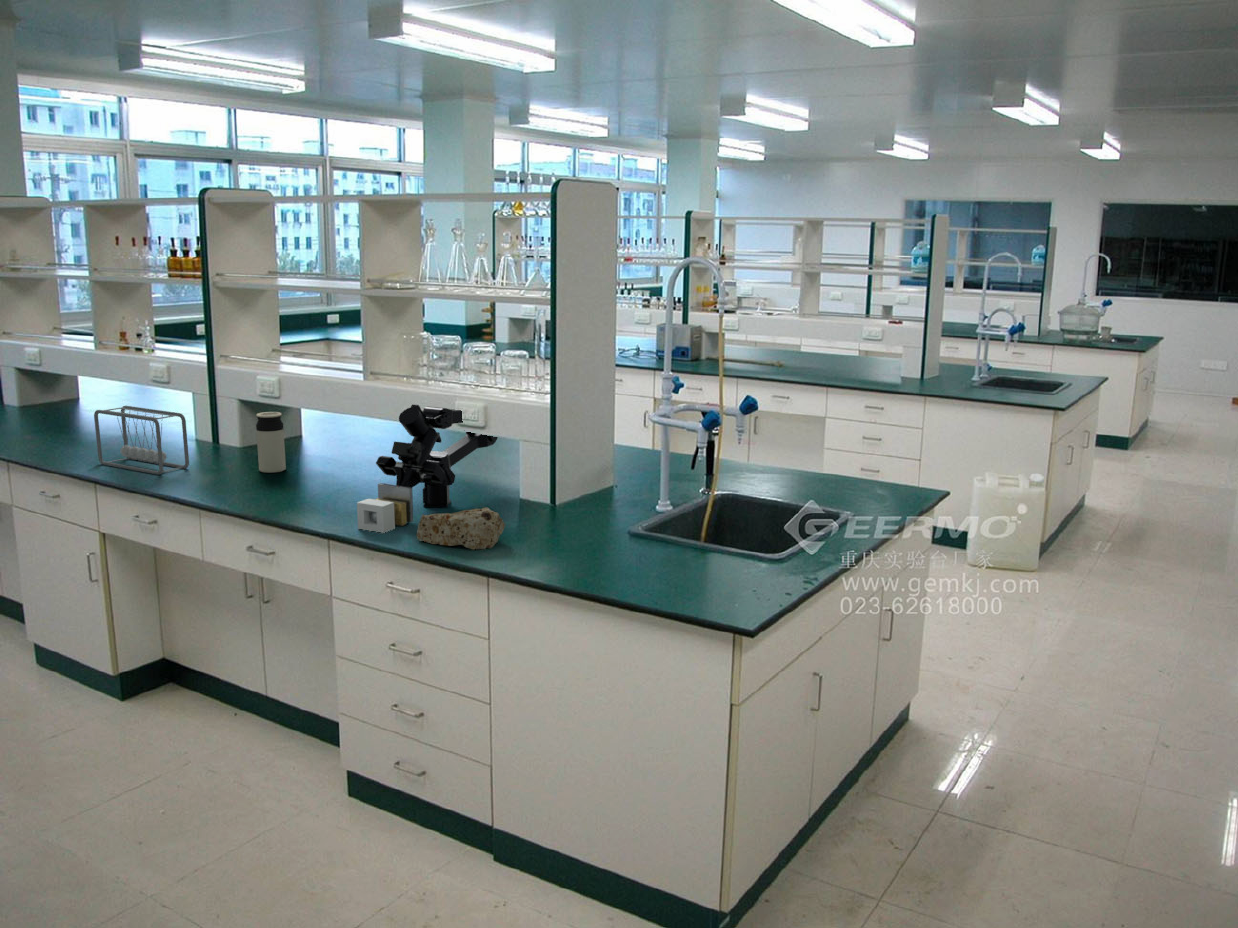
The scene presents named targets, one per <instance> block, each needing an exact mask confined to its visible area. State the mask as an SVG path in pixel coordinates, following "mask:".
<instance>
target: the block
mask: <svg viewBox="0 0 1238 928" xmlns="http://www.w3.org/2000/svg"><path fill="white" fill-rule="evenodd" d="M375 499H376V498H375ZM375 499H374V498H366V499H363V500H361V501H357V502H356V511H357V515H356V516H357V530H359V529H363V530H362V531H365V530H369V531H368V532H371V531H376V532H375V533H377V532H381V533H380V534H383V533H384V534H386V533H389V532H391V531H393V529H394V530H395V529H396V527H395V526H396V525H395V517H394V502H388V501H382V500H375ZM371 511H373V512H377V522H372V521H371V519H370V517H369V514H370V512H371ZM390 530H391V531H390ZM388 531H389V532H388ZM385 532H386V533H385Z"/></svg>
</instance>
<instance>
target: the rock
mask: <svg viewBox="0 0 1238 928" xmlns="http://www.w3.org/2000/svg"><path fill="white" fill-rule="evenodd" d="M505 526H506V523H505V522H504V519H503V518H501V517H500V515H499V512H496V511H495V510H492V509H490V508H489V507H482V508H472V509H463V510H460V511H457V512H451V513H449V512H445V513H444V512H443V513H433V514H427V515H426V514H424V513H423V514H422V515H421V517H420V520H419V522H418V527H417V531H416V537H417V538H416V539H417V540H418V541H420V540H421V541H424V543H429V544H431V545H437V544H438V545H440V546H450V547H453V546H463V547H465V548H467V549H470V550H473V551H475V549H476V550H487V549H486V548H489V549H492V548H493V547H494V546H495V545H496V543H497V542H498V541H499V539H500V535H502V534H503V532H504V529H505Z"/></svg>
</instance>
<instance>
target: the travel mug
mask: <svg viewBox="0 0 1238 928" xmlns="http://www.w3.org/2000/svg"><path fill="white" fill-rule="evenodd" d="M255 416H256V418H257V422H256V424H255V427H256V428H255V430H256V446H257V447H256V448H257V457H258V458H257V460H258V471H259V472H261V473H263V474H276V473H281V472H283V471H285V470H286V469H287V466H286V450H285V449H286V448H285V434H284V433H285V431H284V422H283V421H282V412H279V411H265V412H258V413H256V415H255Z"/></svg>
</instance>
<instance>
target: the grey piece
mask: <svg viewBox="0 0 1238 928" xmlns="http://www.w3.org/2000/svg"><path fill="white" fill-rule="evenodd" d="M377 498H379V499H386V500H392V501H399V502H406V518H407V523H413V522H414V499H413V498H414V496H413V487H412V488H411V487H404V486H397V485H396V484H390V483H389V484H388V483H383V482H382V483H381V482H380V483H378V484H377ZM369 517H370V519H371V521H372V522H377V512H373V511H371V512H370V514H369ZM394 517H395V514H394Z"/></svg>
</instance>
